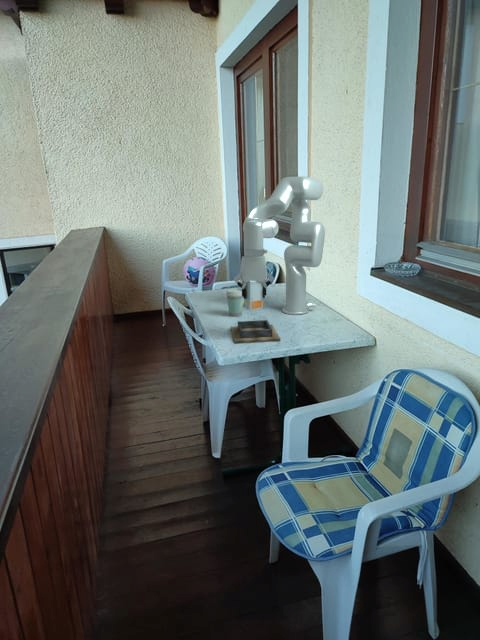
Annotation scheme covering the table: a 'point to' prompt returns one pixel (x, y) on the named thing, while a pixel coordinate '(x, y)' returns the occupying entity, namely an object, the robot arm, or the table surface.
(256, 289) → the skincare box
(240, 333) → the wooden framed tray
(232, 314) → the coffee cup
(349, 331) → the table surface
